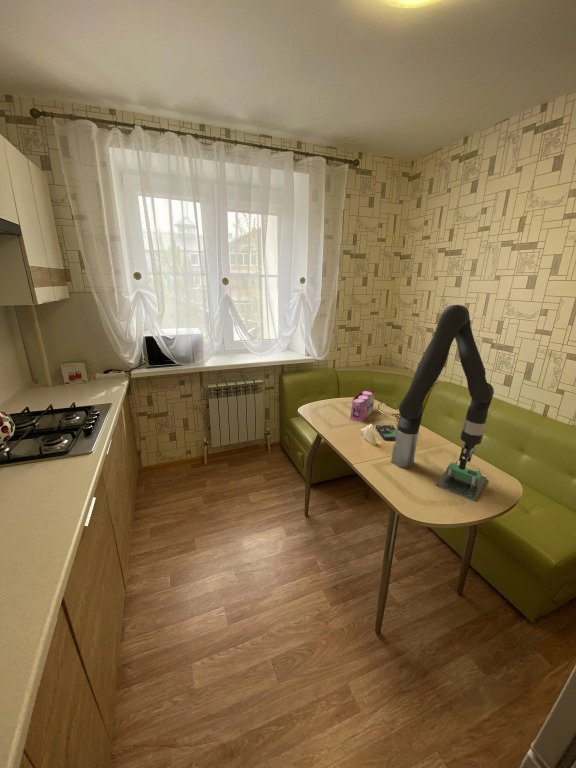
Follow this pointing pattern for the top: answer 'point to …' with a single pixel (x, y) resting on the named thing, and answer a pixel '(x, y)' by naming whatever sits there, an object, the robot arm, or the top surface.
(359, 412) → the pink multipack of cans
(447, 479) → the chassis
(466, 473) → the board
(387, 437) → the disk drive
